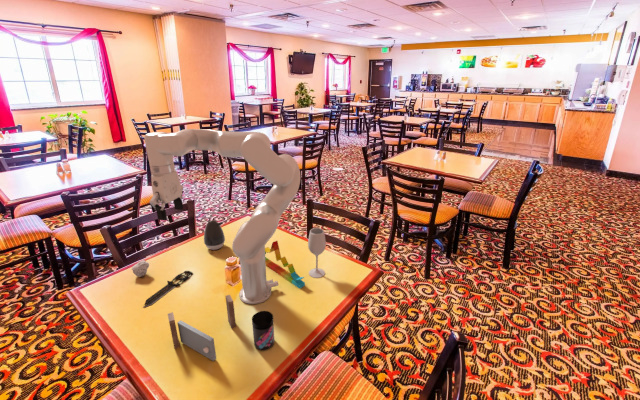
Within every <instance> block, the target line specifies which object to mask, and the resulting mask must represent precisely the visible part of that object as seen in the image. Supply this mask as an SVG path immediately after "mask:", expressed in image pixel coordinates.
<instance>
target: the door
mask: <svg viewBox="0 0 640 400" xmlns="http://www.w3.org/2000/svg"><path fill="white" fill-rule="evenodd" d="M176 323H177V328H178V333H179V339H180V343H182V344H184V345H185V346H187V347H189V348H190V349H192V350H193V351H195V352H197V353H199V354H200V355H203V356H204V357H205V358H207V359H209V360H211V361H212V362H214V361H216V360H217V354H216V346H215V340H214V337H212V336H210V335H208V334H207V333H205V332H203V331H201V330H199V329H197V328H196V327H194V326H192V325H190V324H188V323H186V322H184V321H182V320H179V321H178V322H176Z"/></svg>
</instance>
